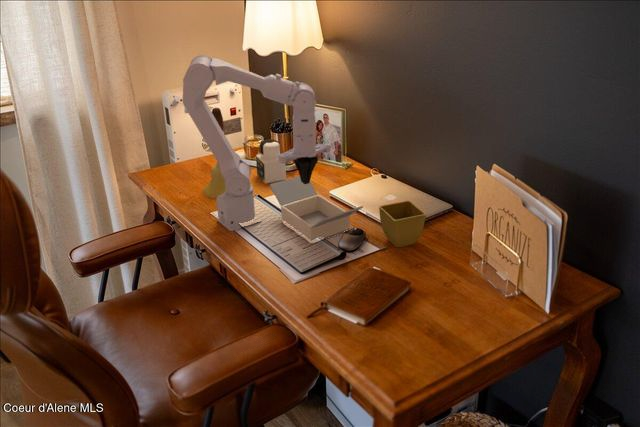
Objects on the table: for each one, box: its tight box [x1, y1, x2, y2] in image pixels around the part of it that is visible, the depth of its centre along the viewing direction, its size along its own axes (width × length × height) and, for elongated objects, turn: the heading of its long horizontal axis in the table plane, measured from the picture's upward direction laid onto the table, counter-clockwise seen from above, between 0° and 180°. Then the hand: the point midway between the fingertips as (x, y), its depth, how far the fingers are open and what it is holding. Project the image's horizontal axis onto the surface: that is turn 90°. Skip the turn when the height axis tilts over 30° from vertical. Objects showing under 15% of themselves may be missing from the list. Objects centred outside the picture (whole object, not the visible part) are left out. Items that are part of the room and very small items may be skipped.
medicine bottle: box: [255, 139, 287, 185], centre depth 182 cm, size 7×7×12 cm
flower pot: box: [378, 200, 427, 248], centre depth 146 cm, size 9×9×9 cm
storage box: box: [280, 194, 351, 241], centre depth 155 cm, size 12×14×5 cm
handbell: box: [202, 107, 226, 199], centre depth 172 cm, size 12×12×25 cm
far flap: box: [269, 175, 318, 207], centre depth 160 cm, size 12×7×1 cm
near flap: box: [312, 205, 364, 228], centre depth 145 cm, size 12×7×1 cm
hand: (305, 182), depth 156 cm, fingers closed
